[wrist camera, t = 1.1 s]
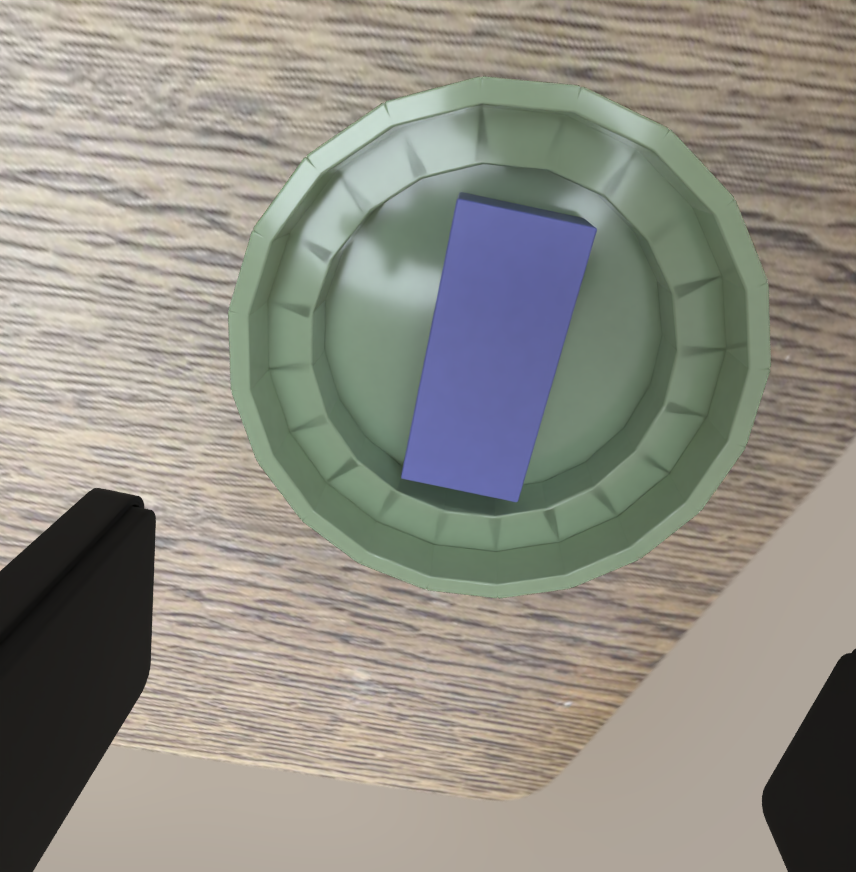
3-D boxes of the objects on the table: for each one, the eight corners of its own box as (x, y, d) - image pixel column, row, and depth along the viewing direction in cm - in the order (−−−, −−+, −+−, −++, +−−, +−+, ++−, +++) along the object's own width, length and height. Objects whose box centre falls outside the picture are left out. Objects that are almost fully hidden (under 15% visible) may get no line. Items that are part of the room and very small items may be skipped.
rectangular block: (459, 191, 21) (456, 198, 18) (585, 218, 21) (597, 228, 18) (407, 447, 24) (400, 479, 22) (514, 469, 24) (517, 503, 22)
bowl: (476, -34, 19) (476, -81, 15) (814, 321, 22) (889, 363, 18) (191, 351, 24) (132, 395, 20) (497, 590, 27) (500, 670, 23)
